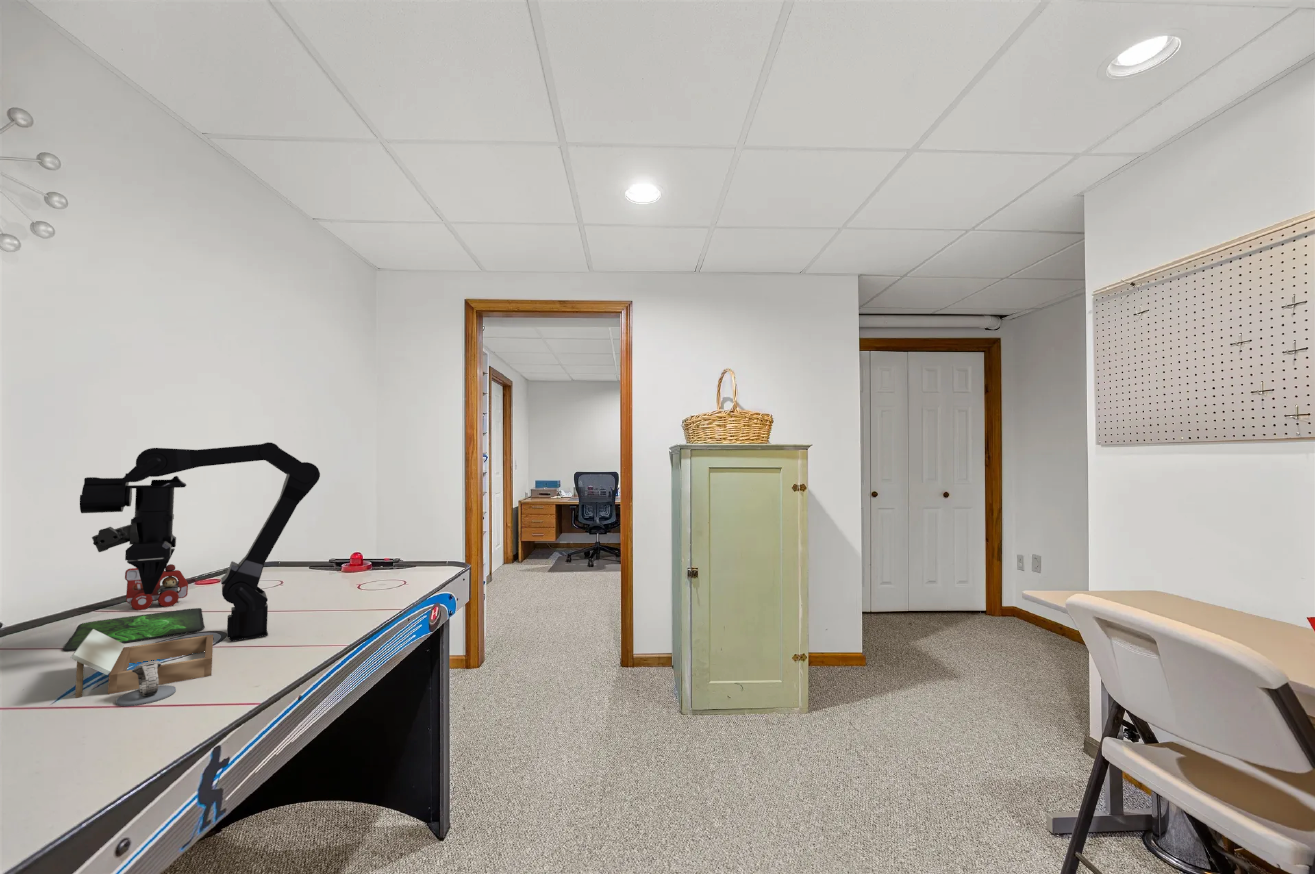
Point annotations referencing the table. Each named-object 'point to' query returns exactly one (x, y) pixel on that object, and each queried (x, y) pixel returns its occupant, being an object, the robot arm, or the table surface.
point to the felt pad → (137, 699)
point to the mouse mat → (141, 627)
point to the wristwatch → (147, 677)
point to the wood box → (140, 660)
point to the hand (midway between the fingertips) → (150, 589)
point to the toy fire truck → (166, 595)
